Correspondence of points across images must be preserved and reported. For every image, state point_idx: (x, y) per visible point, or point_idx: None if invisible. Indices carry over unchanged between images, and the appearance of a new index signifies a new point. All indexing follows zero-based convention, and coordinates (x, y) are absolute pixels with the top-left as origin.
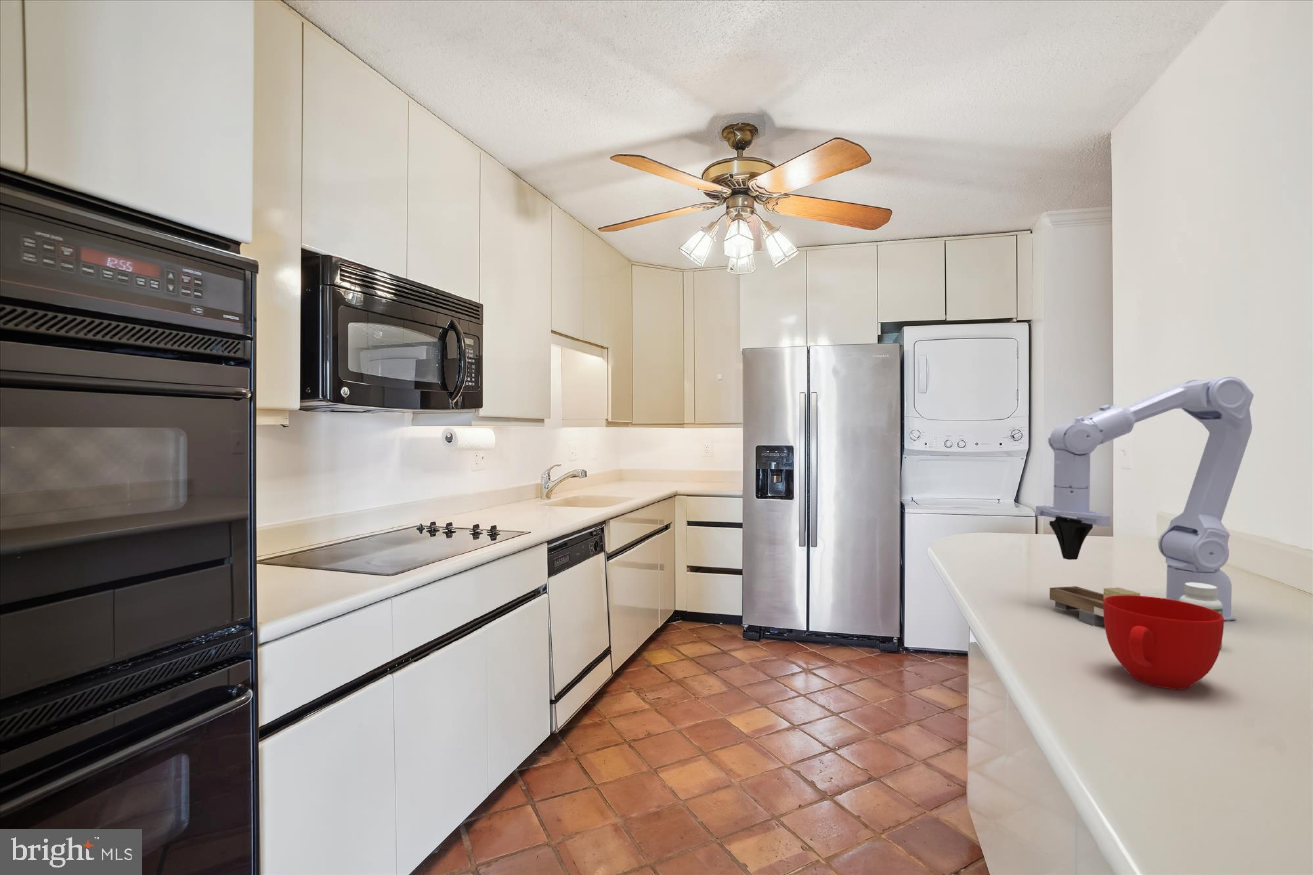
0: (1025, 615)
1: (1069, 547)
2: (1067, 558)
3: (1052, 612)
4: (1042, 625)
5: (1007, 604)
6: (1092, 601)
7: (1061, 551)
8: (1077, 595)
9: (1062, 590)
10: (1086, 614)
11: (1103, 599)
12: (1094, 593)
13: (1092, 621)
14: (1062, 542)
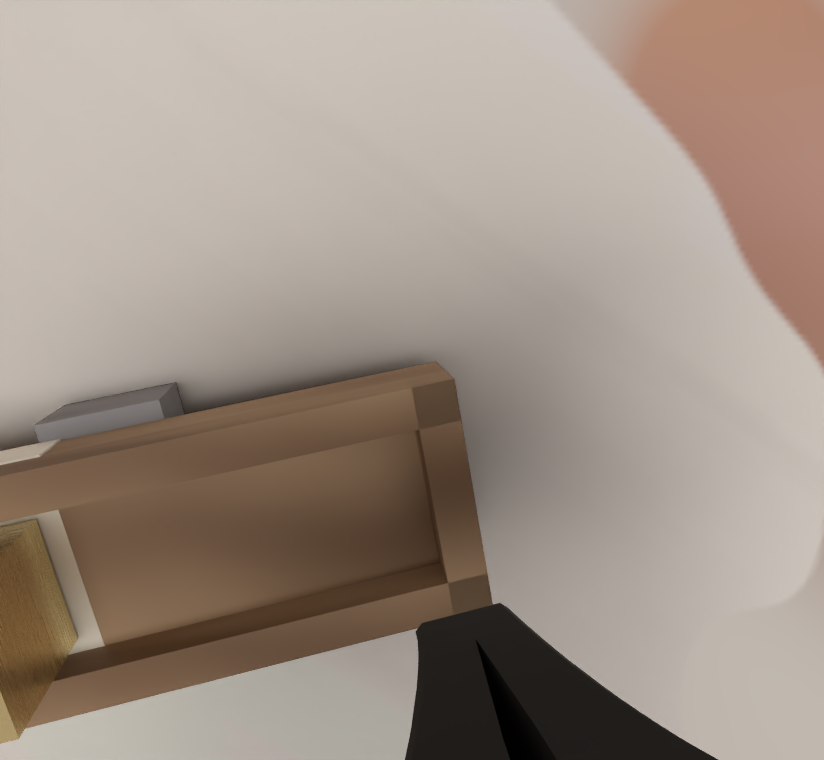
0: (290, 89)
1: (413, 739)
2: (435, 625)
3: (364, 331)
4: (43, 48)
5: (556, 139)
6: (41, 464)
7: (533, 637)
8: (204, 448)
9: (364, 427)
10: (104, 407)
11: (12, 544)
12: (287, 620)
13: (66, 408)
14: (540, 733)
